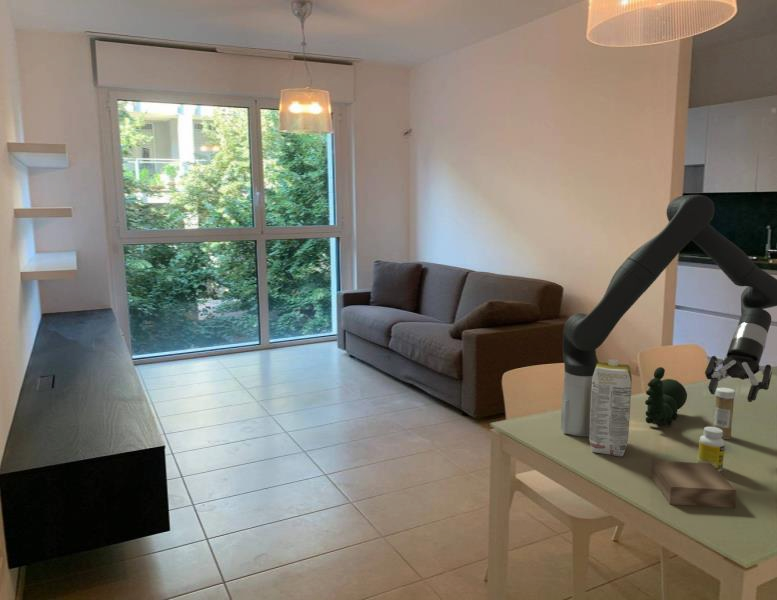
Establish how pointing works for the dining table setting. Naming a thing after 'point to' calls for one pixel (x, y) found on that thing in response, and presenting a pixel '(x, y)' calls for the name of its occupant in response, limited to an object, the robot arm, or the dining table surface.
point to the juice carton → (610, 408)
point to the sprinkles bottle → (724, 411)
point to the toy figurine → (664, 399)
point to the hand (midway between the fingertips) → (730, 396)
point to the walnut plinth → (693, 484)
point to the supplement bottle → (712, 447)
